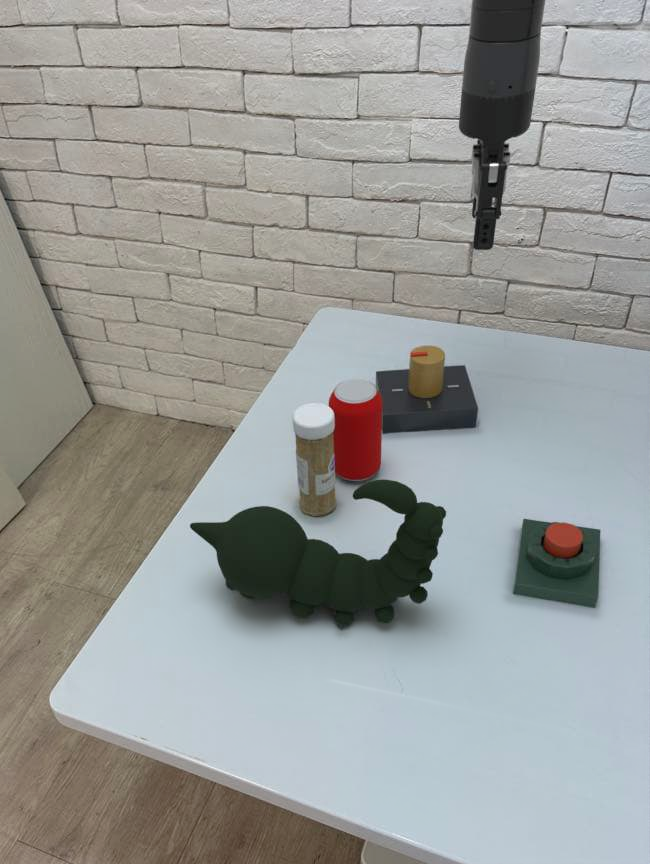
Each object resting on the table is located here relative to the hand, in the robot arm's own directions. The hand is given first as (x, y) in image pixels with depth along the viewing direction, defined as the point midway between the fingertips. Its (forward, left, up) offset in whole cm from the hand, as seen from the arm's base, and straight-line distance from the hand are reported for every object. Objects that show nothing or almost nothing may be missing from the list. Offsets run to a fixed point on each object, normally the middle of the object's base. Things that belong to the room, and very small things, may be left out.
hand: (481, 232), depth 96 cm
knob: (+6, +5, -18) cm, 20 cm away
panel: (+6, +5, -21) cm, 23 cm away
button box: (-4, +35, -21) cm, 41 cm away
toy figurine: (+22, +38, -22) cm, 49 cm away
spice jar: (+21, +23, -22) cm, 38 cm away
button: (-4, +35, -18) cm, 40 cm away
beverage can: (+16, +17, -22) cm, 32 cm away
